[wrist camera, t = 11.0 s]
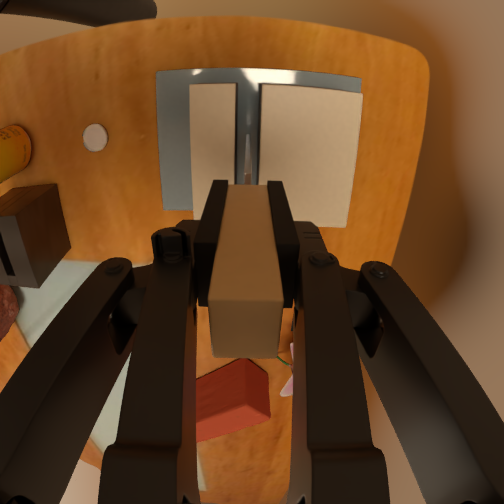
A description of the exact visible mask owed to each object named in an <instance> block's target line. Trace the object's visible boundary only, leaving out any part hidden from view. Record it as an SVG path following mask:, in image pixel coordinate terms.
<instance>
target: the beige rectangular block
mask: <svg viewBox="0 0 504 504" xmlns="http://www.w3.org/2000/svg"><path fill="white" fill-rule="evenodd" d="M362 102H363V94H362V93H357V92H351V91H346V90H340V89H332V88H323V87H313V86H302V85H289V84H272V83H260V84H259V115H258V146H257V176H256V185H267V180H271V181H282V182H283V186H284V189H285V192H286V196H287V199H288V203H289V206H290V210H291V213H292V217H293V220H294V221H311V222H312V223H314V224H315V225H316V226H317V227H344V228H345V227H346V223H347V217H348V211H349V205H350V199H351V192H352V186H353V179H354V172H355V165H356V157H357V149H358V141H359V132H360V122H361V113H362Z"/></svg>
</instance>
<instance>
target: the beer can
mask: <svg viewBox="0 0 504 504" xmlns="http://www.w3.org/2000/svg"><path fill="white" fill-rule="evenodd" d="M30 155H31V141H30V138H29V136H28V134H27V133H26V132H25V131H24V130H23V129H22V128H21V127H19V126H16V125H11V126H8V127H5V128H3V129H0V183H2V182H3V181H5V180H7V179H8V178H10V177H11V176H13V175H15V174H16V173H18V172H20V171H21V170H23V169H24V168H25V167H26V166H27V164H28V162H29V159H30Z"/></svg>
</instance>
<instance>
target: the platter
mask: <svg viewBox="0 0 504 504" xmlns="http://www.w3.org/2000/svg"><path fill="white" fill-rule="evenodd" d="M361 80H362V79H361V78H356V77H350V76H343V75H336V74H328V73H319V72H310V71H299V70H285V69H267V68H198V69H180V70H167V71H156V104H157V129H158V148H159V163H160V177H161V189H162V200H163V210H193V195H192V174H191V146H190V90H189V85H190V84H198V83H238V119H237V185H244V167H245V150H246V135H247V134H251V164H252V180H251V185H256V176H257V146H258V115H259V84H260V83H272V84H289V85H302V86H313V87H323V88H332V89H340V90H346V91H351V92H357V93H361Z"/></svg>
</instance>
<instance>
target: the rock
mask: <svg viewBox="0 0 504 504" xmlns="http://www.w3.org/2000/svg"><path fill="white" fill-rule="evenodd" d="M18 311H19V306H18V303H17V297H16V296H15V294H14V291H13V290H12V288H11V287H10V286H8V285H1V284H0V342H1V340H2V339H3V338H4V337H5V335H6V334H7V333H8V332H9V329H10V327H11V325H12V323H13V322H14V321H15V317H16V316H17V314H18Z"/></svg>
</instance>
